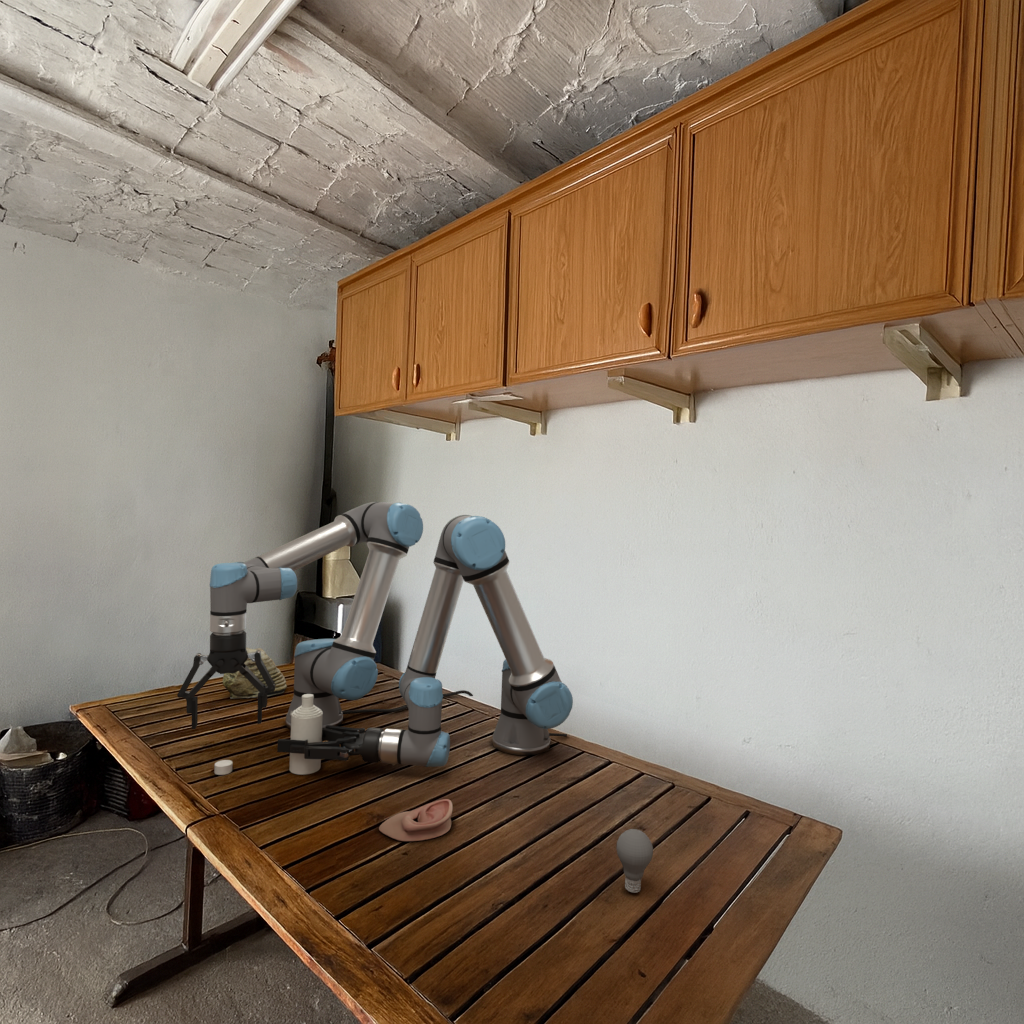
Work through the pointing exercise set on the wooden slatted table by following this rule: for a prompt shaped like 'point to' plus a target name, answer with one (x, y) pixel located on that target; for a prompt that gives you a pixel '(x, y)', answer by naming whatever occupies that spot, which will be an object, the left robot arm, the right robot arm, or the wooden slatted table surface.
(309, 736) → the bottle
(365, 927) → the wooden slatted table surface
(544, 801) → the wooden slatted table surface
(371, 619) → the left robot arm
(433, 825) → the anatomical model
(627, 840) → the light bulb
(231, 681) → the fossil
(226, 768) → the cap
